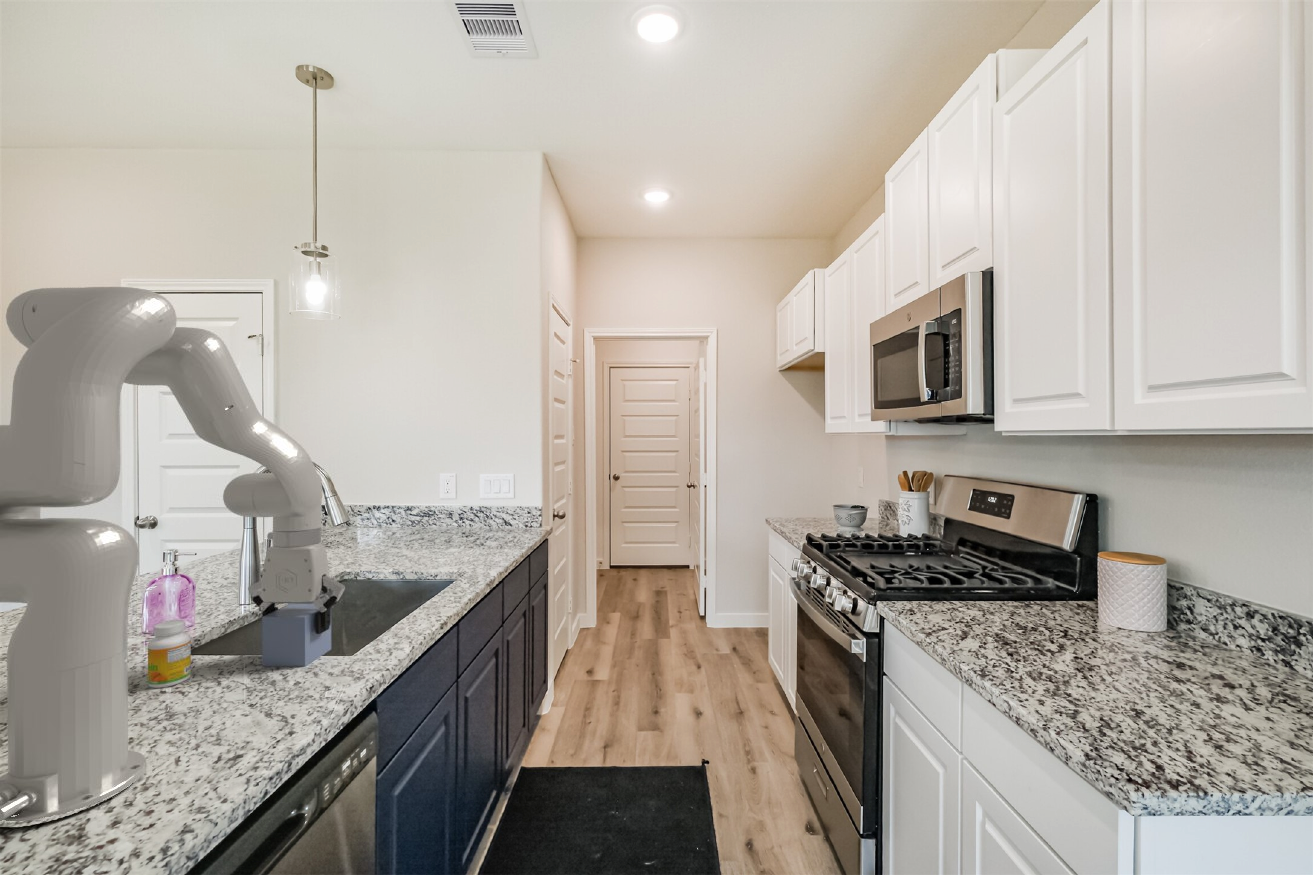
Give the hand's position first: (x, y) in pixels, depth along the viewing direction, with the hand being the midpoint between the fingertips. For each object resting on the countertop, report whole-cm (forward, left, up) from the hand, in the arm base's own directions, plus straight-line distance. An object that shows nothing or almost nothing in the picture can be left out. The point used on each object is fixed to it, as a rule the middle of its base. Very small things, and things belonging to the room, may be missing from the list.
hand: (296, 631), depth 101 cm
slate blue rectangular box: (0, 0, -5) cm, 5 cm away
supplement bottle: (-10, +15, -5) cm, 19 cm away
